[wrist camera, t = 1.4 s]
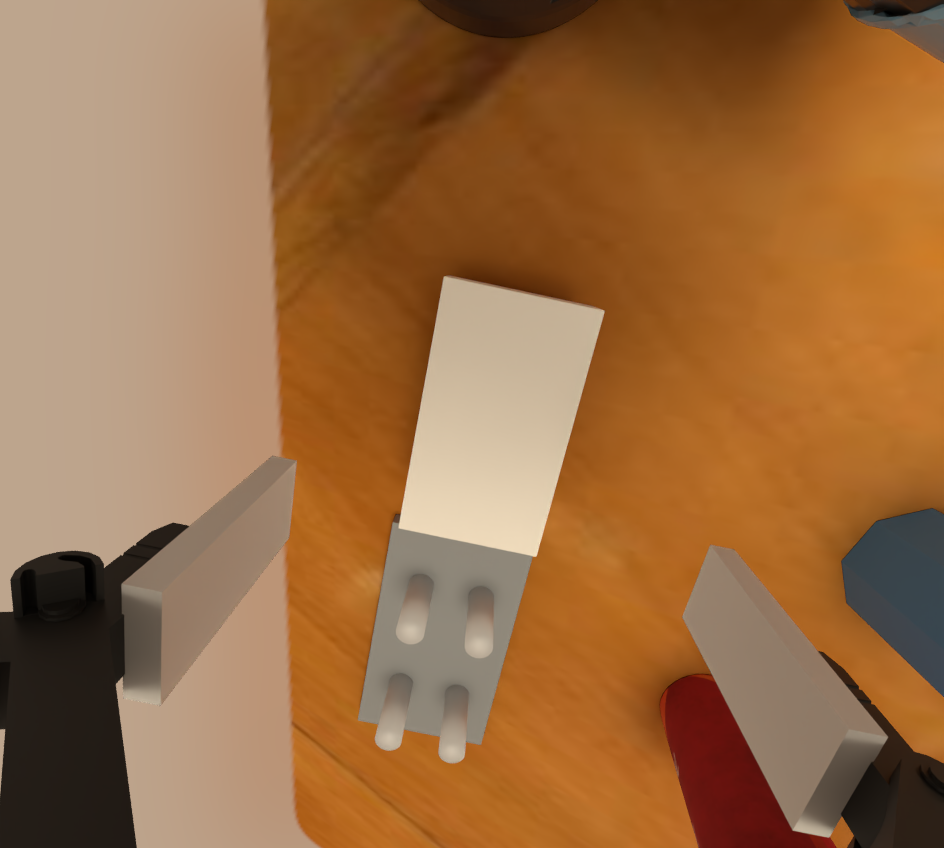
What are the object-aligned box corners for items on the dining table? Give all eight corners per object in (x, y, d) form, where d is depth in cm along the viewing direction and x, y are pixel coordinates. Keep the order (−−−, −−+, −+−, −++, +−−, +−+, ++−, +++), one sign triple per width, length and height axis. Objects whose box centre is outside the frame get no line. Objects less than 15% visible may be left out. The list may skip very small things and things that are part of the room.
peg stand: (396, 514, 37) (376, 562, 31) (532, 542, 37) (539, 595, 31) (361, 707, 42) (339, 780, 36) (481, 731, 42) (478, 808, 36)
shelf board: (449, 275, 28) (443, 276, 25) (593, 306, 28) (604, 310, 25) (407, 504, 32) (398, 528, 29) (532, 530, 32) (536, 556, 29)
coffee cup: (629, 729, 41) (698, 976, 27) (668, 649, 39) (768, 873, 25) (727, 755, 42) (847, 1013, 27) (772, 678, 39) (930, 915, 25)
